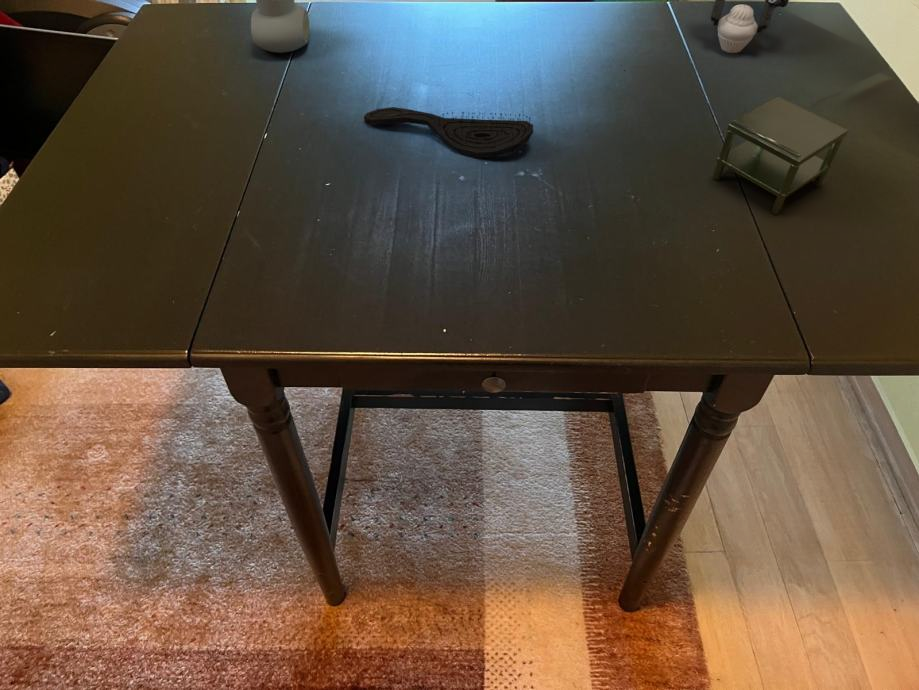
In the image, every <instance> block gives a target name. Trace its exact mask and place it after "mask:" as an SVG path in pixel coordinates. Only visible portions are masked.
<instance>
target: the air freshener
mask: <svg viewBox="0 0 919 690" xmlns="http://www.w3.org/2000/svg"><path fill="white" fill-rule="evenodd" d="M255 2H256V6H257V7H256V9H255V10H254V11H253V12H252V14H251V17H250V18H251V19H250V33H251V39H252V41H253V44H254V45H255V46H256V47H258V48H259V49H262V50H264V51H267V52H270V53H275V52H276V53H277V54H284V53H285V52H286V53H291V52H294V51H297V50H299V49H301V48H302V47H304V46H305V45H306V44H308V42H309V39H310V19H309V17H310V16H309V13H308V10H307V9H306V8H304V7H303V6H302V5H299V4H297V3H295V0H255Z"/></svg>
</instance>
